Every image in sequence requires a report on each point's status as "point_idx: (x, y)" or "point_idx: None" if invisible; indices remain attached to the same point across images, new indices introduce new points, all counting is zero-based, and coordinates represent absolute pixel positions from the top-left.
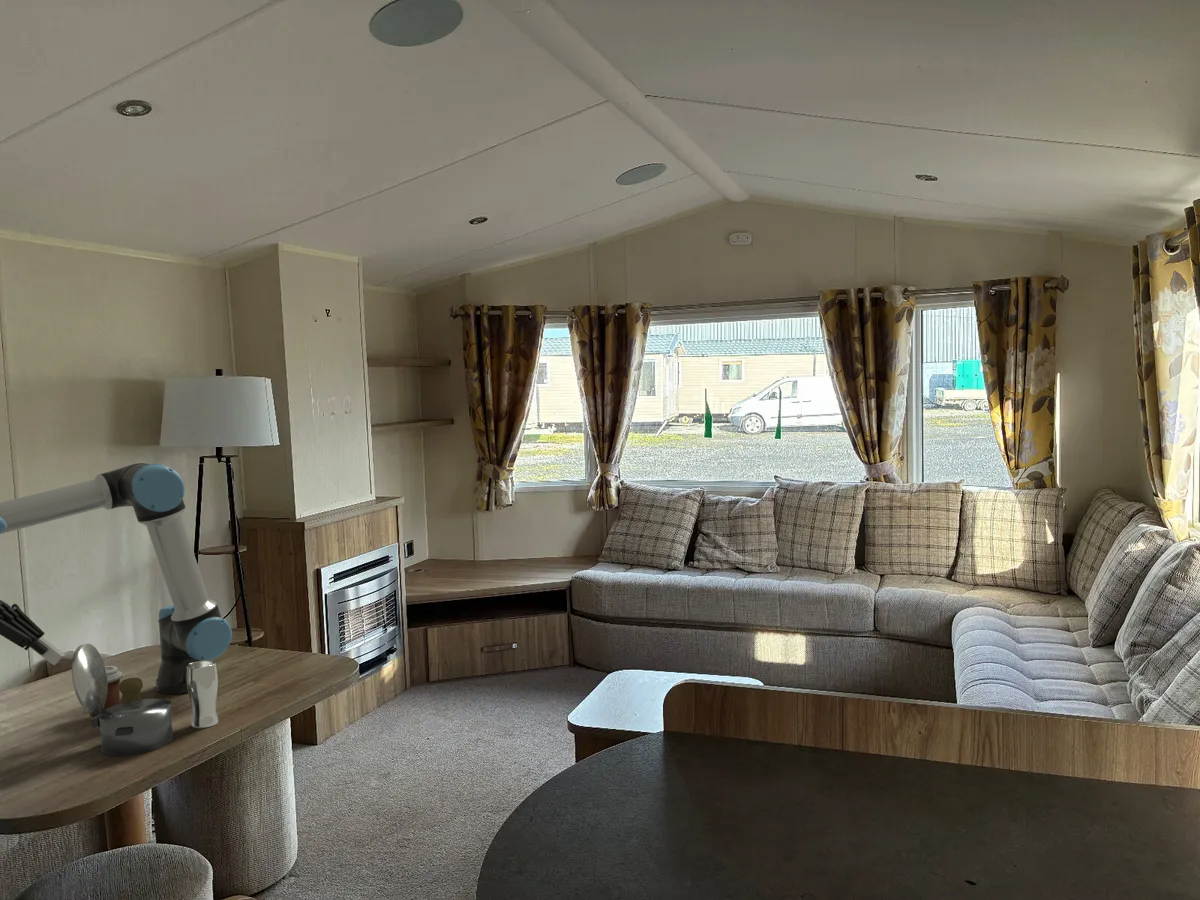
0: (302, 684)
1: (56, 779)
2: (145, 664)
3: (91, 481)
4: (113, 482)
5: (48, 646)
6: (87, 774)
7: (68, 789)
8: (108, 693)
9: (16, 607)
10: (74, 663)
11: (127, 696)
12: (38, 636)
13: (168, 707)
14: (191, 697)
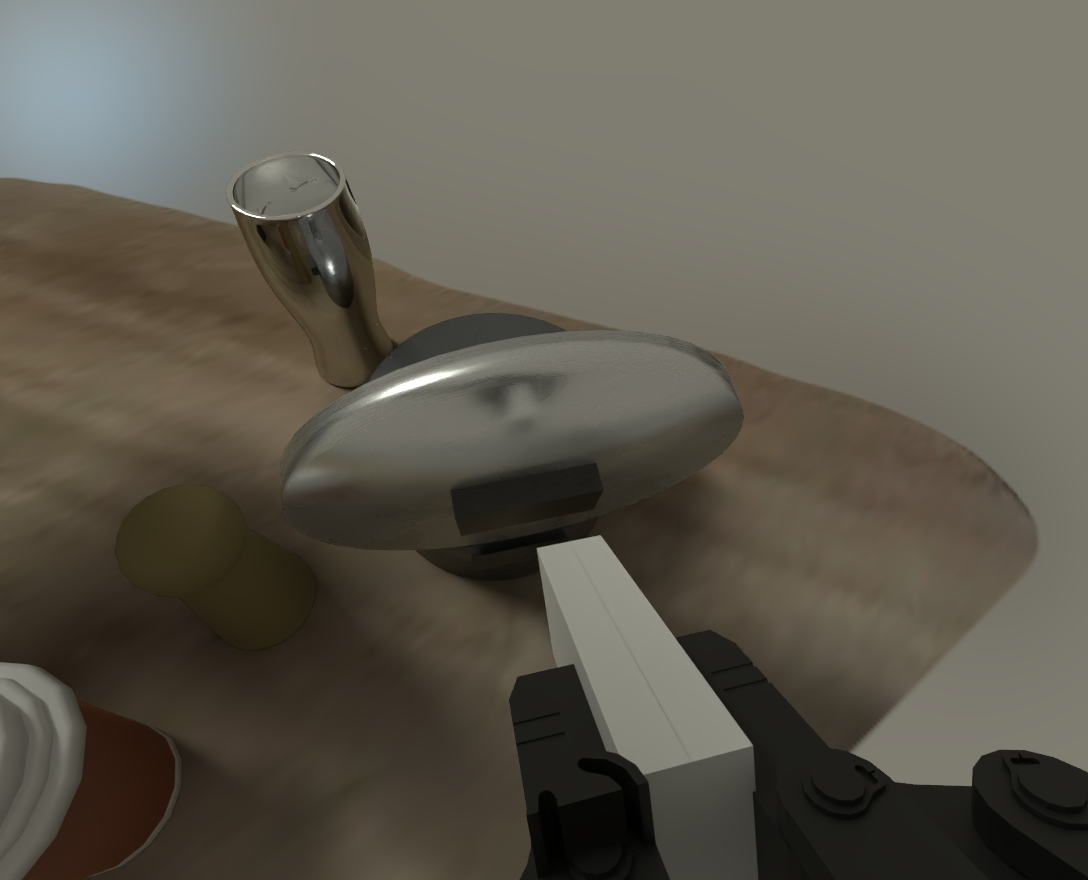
0: (65, 240)
1: (798, 572)
2: None
3: None
4: None
5: (664, 627)
6: (745, 497)
7: (849, 492)
8: (101, 719)
9: None
10: (719, 376)
11: (247, 552)
12: (654, 848)
13: (481, 314)
14: (363, 300)
